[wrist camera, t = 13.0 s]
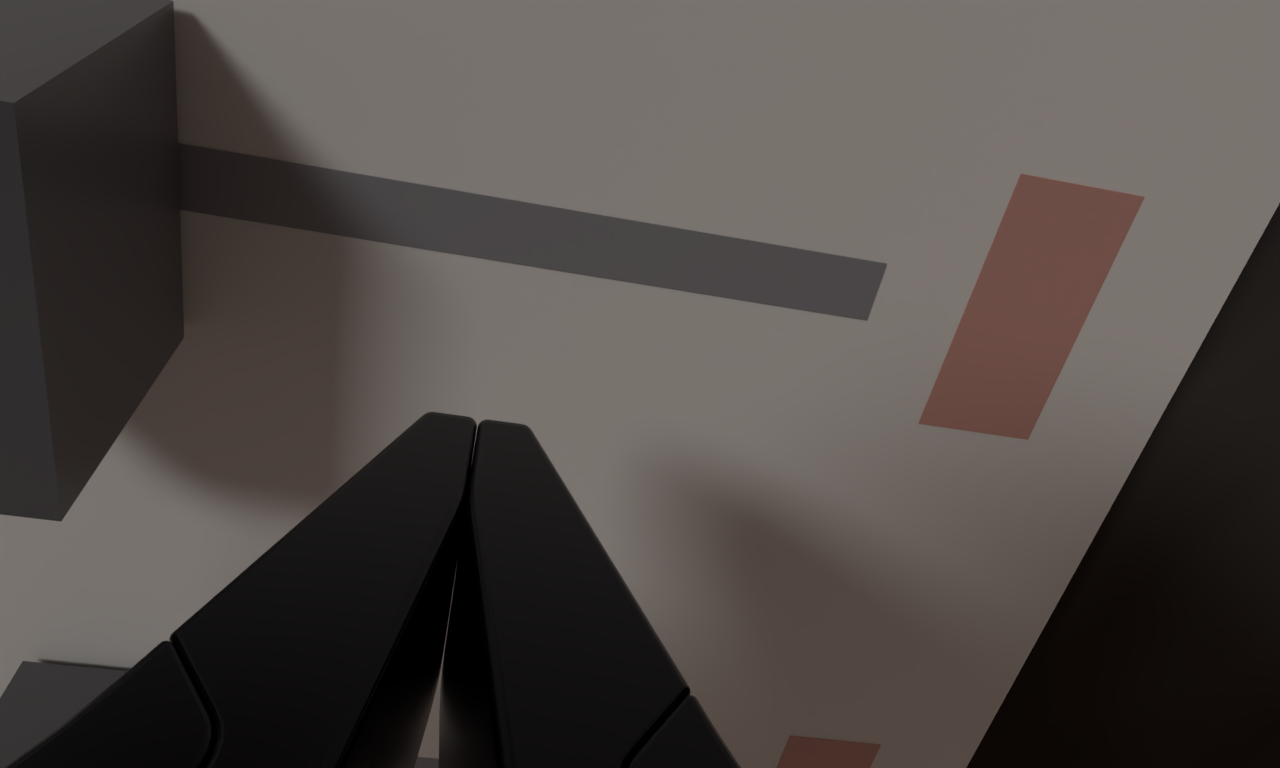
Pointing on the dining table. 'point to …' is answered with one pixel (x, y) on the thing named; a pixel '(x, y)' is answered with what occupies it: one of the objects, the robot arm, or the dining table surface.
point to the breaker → (45, 702)
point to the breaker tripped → (83, 236)
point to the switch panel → (693, 317)
